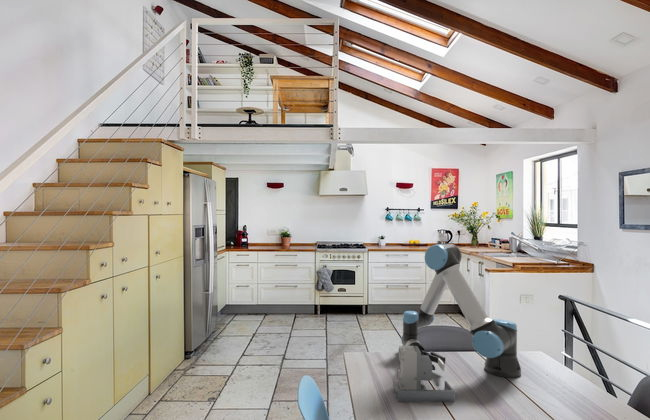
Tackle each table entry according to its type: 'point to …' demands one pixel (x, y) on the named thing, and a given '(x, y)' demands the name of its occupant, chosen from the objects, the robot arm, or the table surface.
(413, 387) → the circuit breaker
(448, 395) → the grey u-shaped bracket
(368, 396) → the table surface
